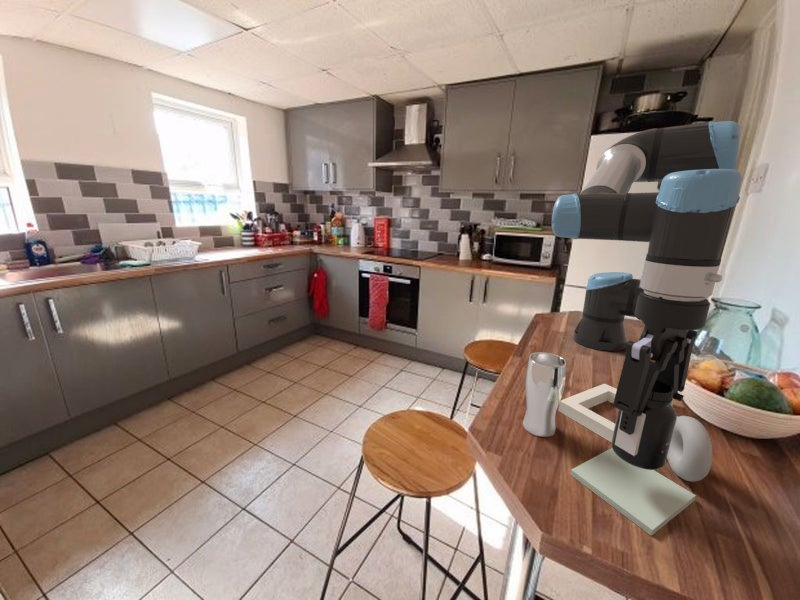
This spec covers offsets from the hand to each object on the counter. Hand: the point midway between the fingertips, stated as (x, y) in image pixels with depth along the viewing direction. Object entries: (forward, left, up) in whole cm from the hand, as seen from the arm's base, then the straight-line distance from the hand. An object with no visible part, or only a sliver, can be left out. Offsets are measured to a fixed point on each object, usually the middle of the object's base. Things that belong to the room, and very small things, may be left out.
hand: (639, 441), depth 50 cm
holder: (-16, -11, -9) cm, 21 cm away
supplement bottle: (0, 0, -3) cm, 3 cm away
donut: (-11, +2, -9) cm, 14 cm away
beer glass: (0, -17, -9) cm, 19 cm away
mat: (0, 0, -9) cm, 9 cm away
